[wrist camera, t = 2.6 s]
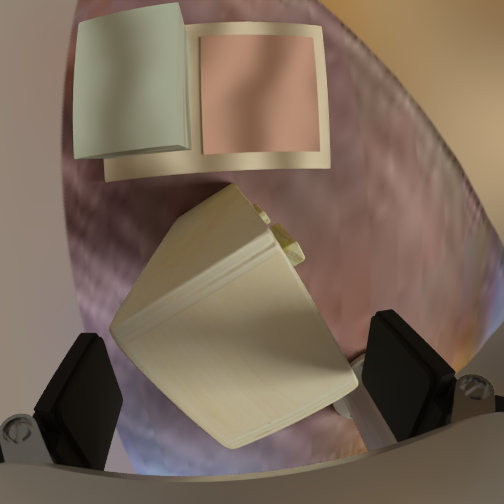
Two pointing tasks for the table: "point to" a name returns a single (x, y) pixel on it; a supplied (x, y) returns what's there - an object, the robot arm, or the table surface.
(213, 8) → the table surface
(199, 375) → the toy refrigerator
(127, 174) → the board
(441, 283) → the table surface
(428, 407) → the robot arm
